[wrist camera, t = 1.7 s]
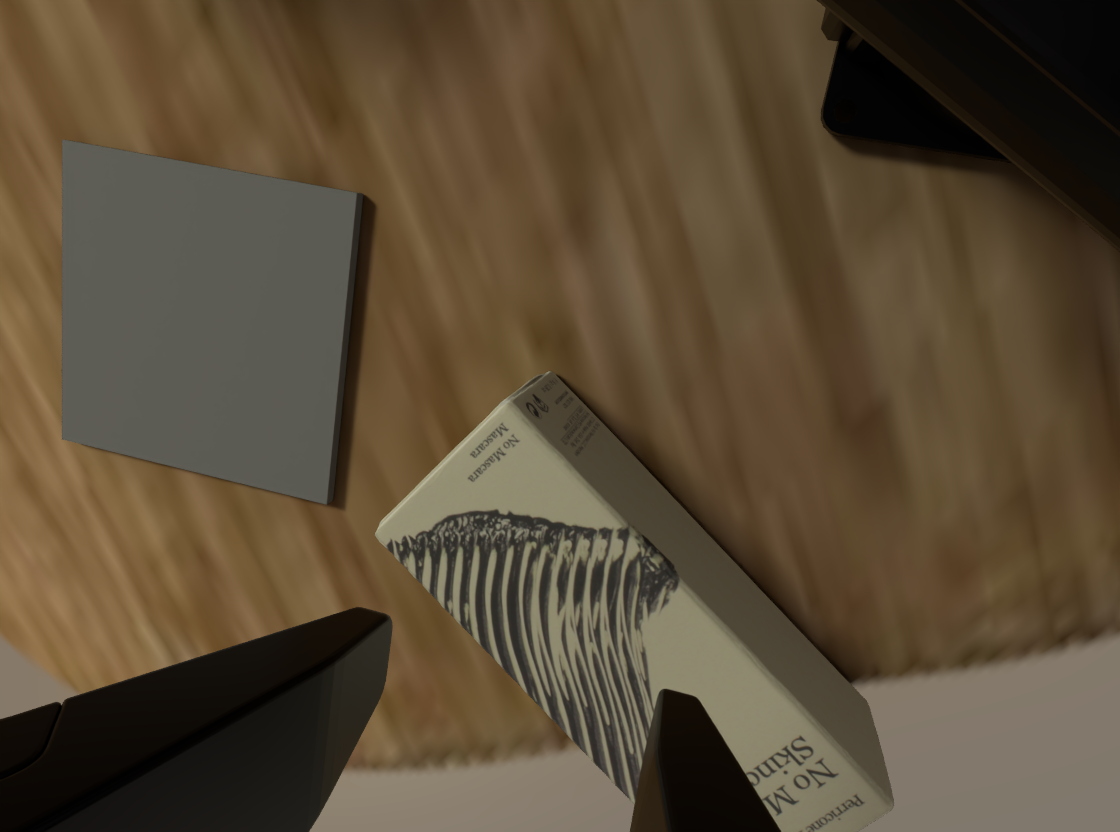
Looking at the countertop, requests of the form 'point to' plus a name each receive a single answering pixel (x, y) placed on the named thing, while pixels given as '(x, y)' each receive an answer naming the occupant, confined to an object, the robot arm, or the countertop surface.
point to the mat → (206, 317)
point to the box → (629, 610)
